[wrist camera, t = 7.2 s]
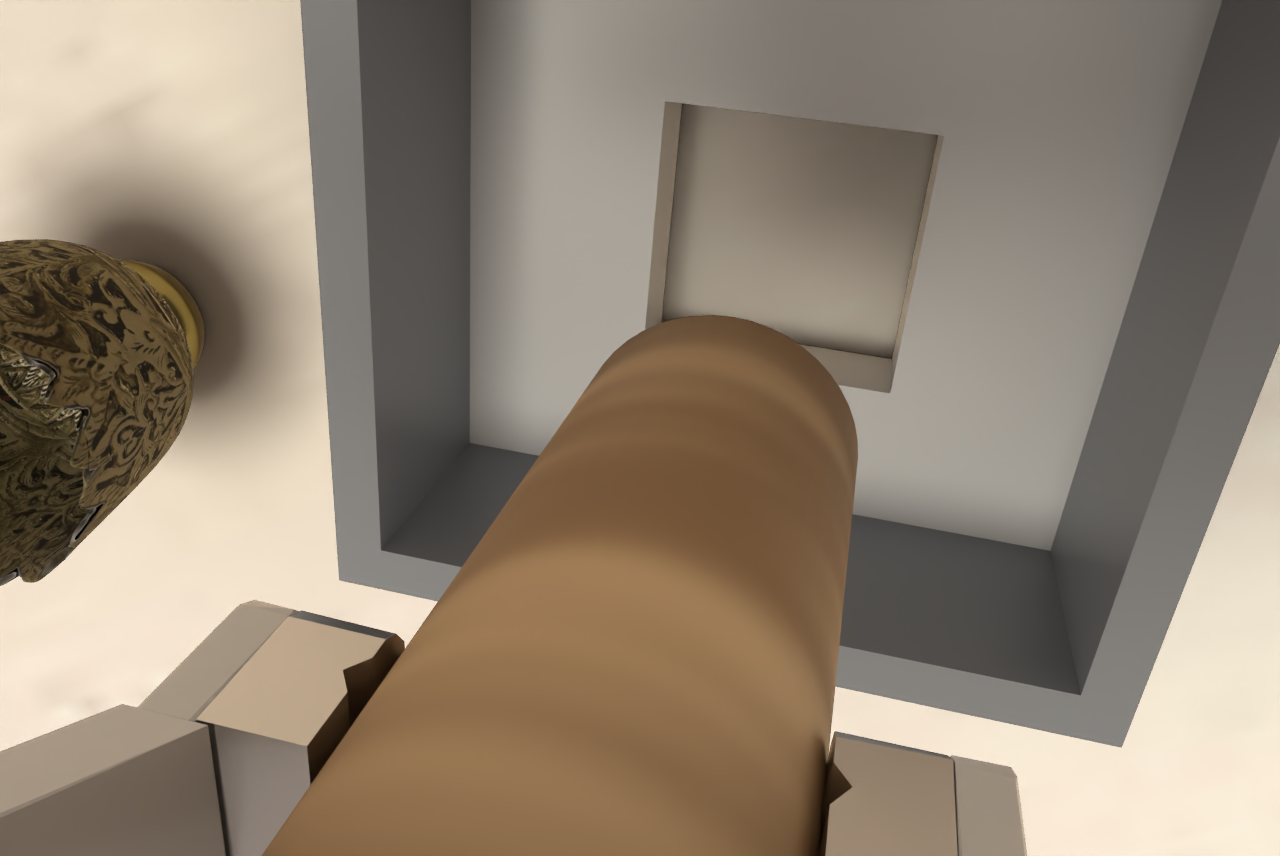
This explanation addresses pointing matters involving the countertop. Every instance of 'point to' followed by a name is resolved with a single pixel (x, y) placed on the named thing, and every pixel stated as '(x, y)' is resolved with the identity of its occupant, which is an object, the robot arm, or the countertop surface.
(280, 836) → the oak peg
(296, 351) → the countertop surface
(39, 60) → the countertop surface
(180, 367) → the ornate bronze lampshade
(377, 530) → the socket box
